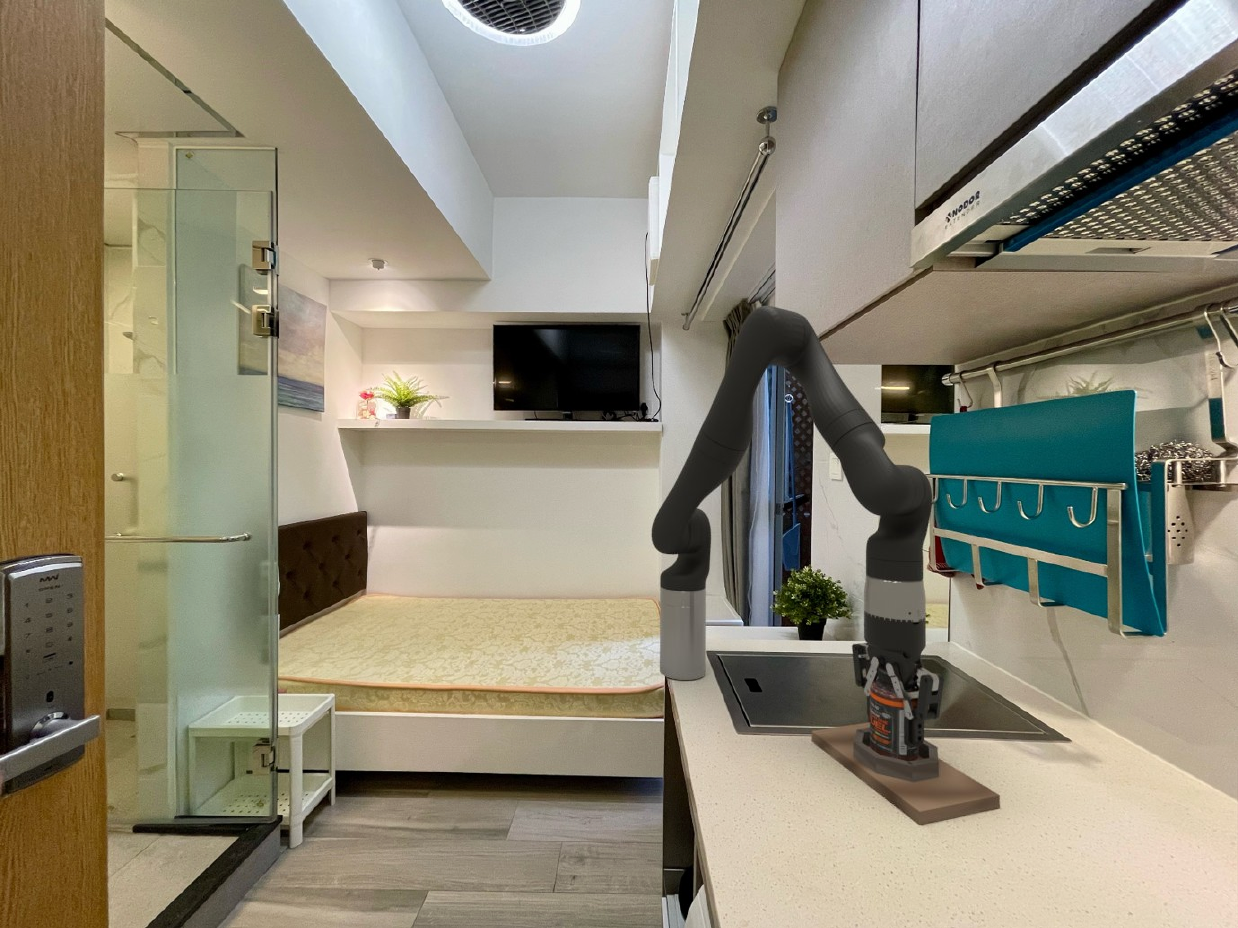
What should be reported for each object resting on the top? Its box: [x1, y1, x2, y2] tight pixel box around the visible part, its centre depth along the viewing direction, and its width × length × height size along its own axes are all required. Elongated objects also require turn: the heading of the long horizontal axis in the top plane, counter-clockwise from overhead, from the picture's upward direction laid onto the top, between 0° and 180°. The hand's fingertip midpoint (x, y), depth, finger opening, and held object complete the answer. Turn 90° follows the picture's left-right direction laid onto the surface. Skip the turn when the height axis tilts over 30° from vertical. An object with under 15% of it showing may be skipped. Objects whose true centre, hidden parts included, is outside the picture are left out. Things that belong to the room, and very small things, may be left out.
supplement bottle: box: [870, 668, 919, 762], centre depth 73 cm, size 6×6×11 cm
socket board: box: [811, 721, 1001, 826], centre depth 72 cm, size 20×12×4 cm, turn 16°
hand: (894, 733), depth 73 cm, fingers closed on supplement bottle, 6 cm apart
